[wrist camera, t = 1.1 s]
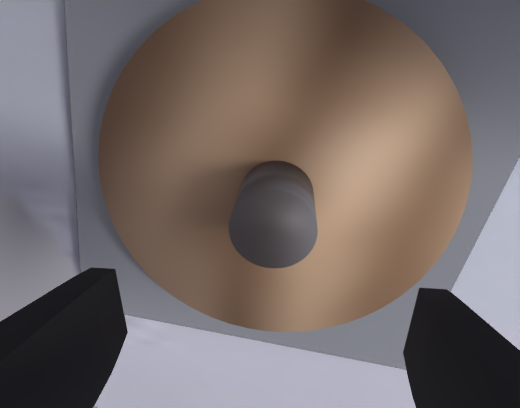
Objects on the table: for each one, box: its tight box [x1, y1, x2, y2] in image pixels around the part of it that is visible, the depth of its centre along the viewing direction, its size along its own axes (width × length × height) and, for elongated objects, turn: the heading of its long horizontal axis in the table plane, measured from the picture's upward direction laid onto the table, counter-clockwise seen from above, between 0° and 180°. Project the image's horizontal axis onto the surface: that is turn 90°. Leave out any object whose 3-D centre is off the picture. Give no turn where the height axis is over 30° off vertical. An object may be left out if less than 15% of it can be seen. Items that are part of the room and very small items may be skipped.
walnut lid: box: [98, 0, 473, 332], centre depth 14 cm, size 15×15×4 cm
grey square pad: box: [64, 0, 520, 370], centre depth 16 cm, size 18×18×1 cm
